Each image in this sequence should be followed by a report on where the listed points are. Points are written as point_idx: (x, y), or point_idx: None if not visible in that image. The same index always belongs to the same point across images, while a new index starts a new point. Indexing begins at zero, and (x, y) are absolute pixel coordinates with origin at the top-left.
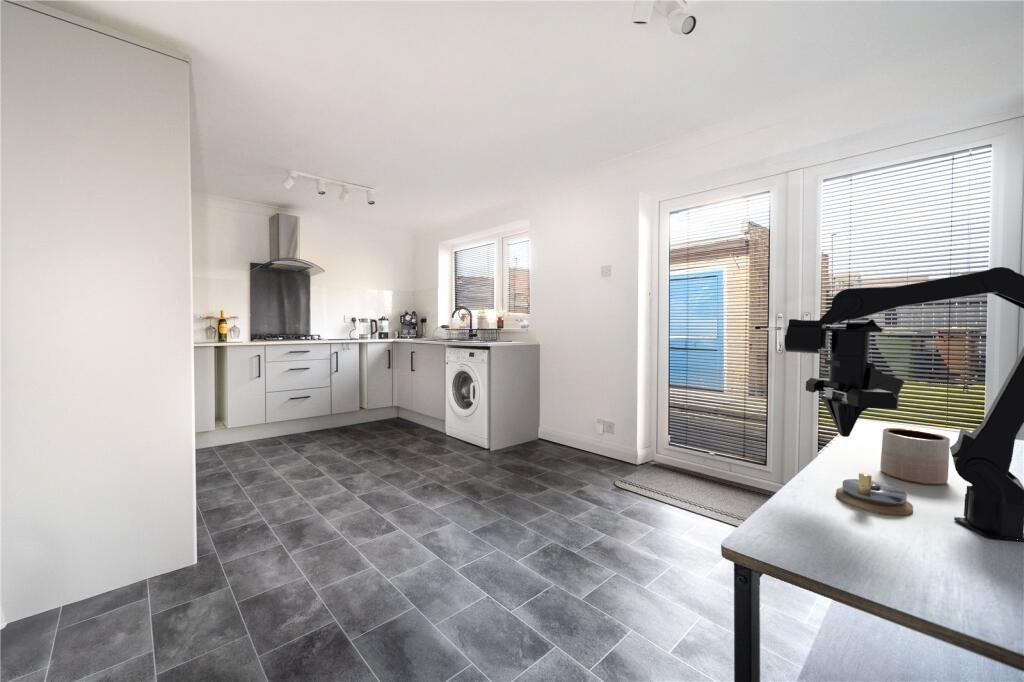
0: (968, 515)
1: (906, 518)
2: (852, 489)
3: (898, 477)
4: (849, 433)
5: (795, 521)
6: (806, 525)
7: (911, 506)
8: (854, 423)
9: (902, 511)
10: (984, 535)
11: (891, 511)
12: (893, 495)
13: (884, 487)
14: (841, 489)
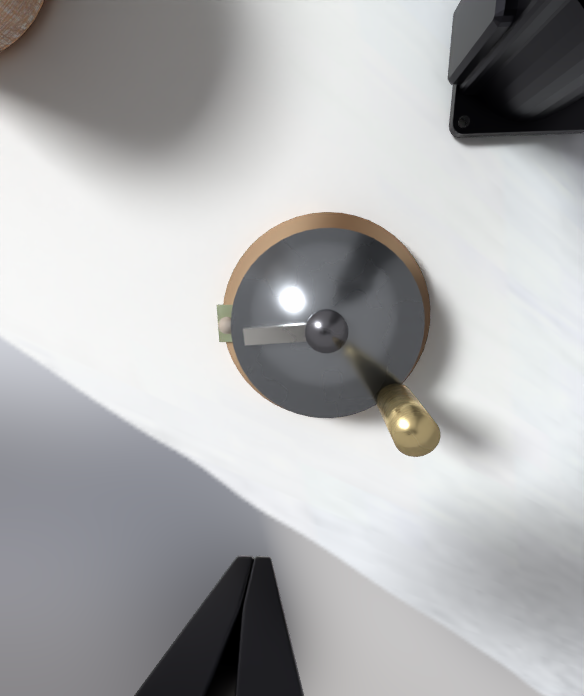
0: (519, 104)
1: (442, 293)
2: (353, 413)
3: (19, 36)
4: (274, 581)
5: (485, 585)
6: (506, 573)
7: (383, 233)
8: (301, 691)
9: (427, 294)
10: (580, 131)
11: (427, 328)
12: (395, 302)
13: (310, 281)
14: None
